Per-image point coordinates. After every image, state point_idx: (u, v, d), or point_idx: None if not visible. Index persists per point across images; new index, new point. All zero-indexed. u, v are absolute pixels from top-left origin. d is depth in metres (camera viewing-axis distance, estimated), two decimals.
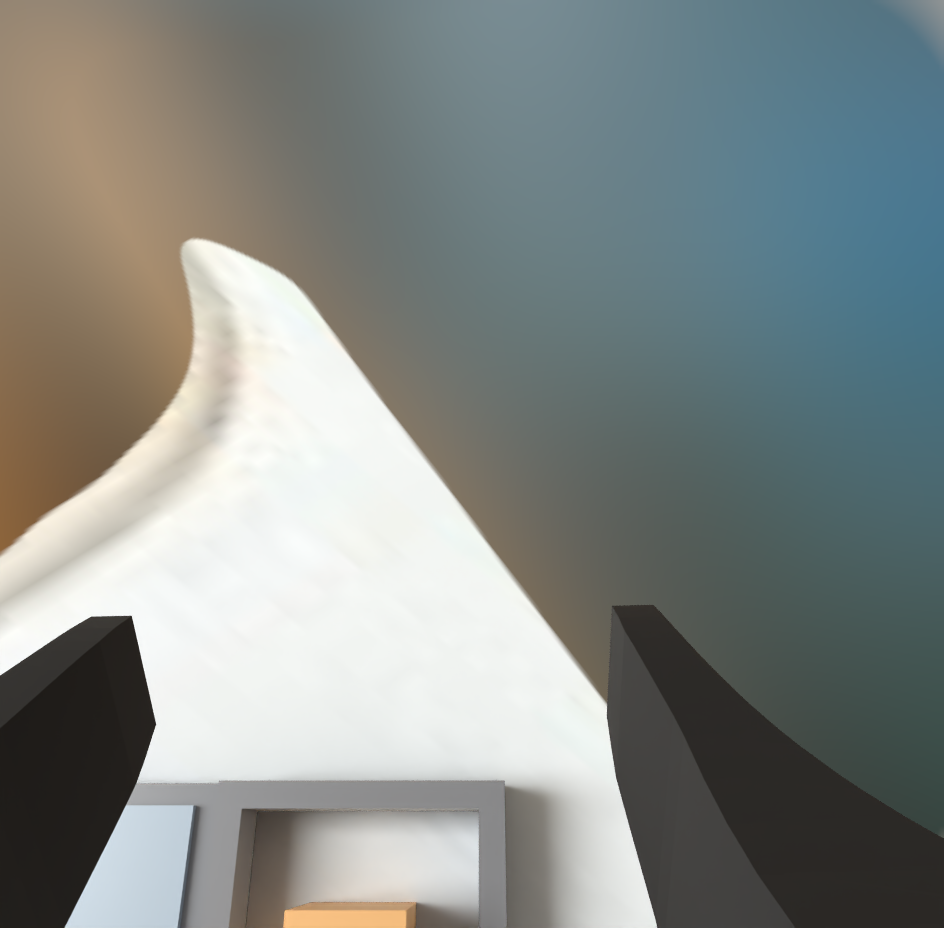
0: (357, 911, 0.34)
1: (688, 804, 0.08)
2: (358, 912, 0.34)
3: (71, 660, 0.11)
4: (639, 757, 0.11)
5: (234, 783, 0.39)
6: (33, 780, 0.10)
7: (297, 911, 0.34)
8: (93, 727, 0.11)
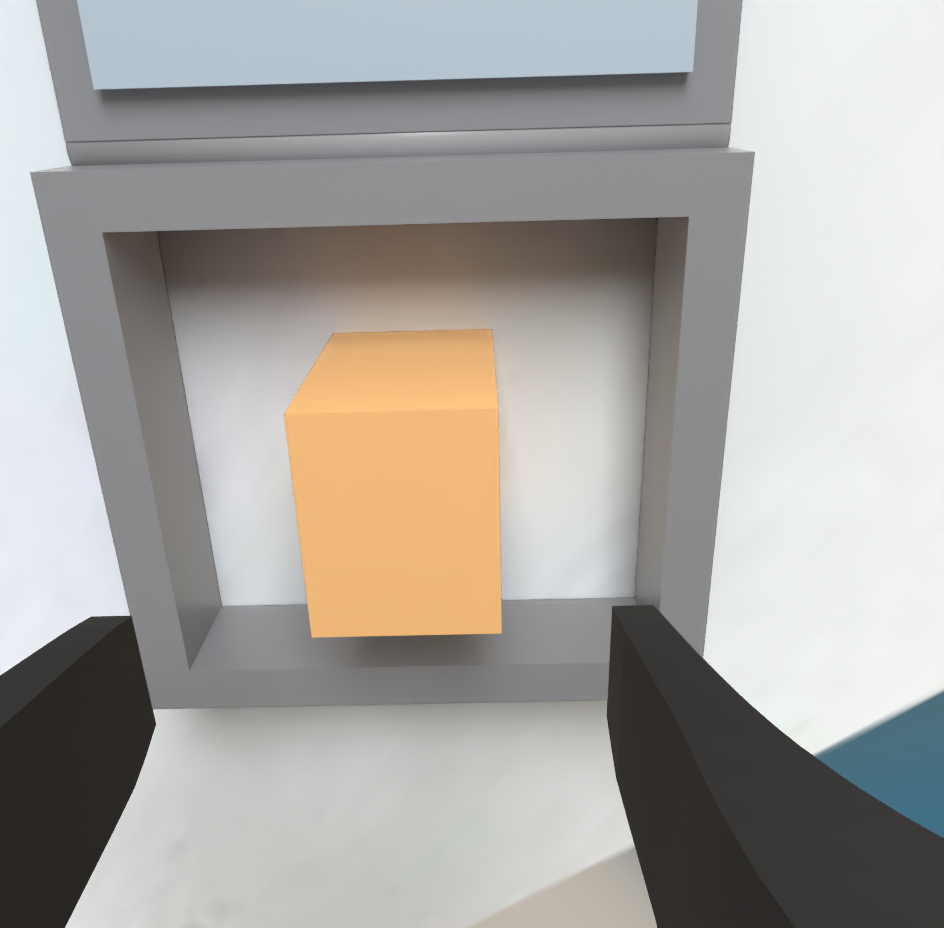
0: (498, 549, 0.17)
1: (688, 804, 0.08)
2: (497, 551, 0.17)
3: (71, 660, 0.11)
4: (639, 757, 0.11)
5: (744, 191, 0.17)
6: (33, 780, 0.10)
7: (496, 435, 0.16)
8: (93, 727, 0.11)
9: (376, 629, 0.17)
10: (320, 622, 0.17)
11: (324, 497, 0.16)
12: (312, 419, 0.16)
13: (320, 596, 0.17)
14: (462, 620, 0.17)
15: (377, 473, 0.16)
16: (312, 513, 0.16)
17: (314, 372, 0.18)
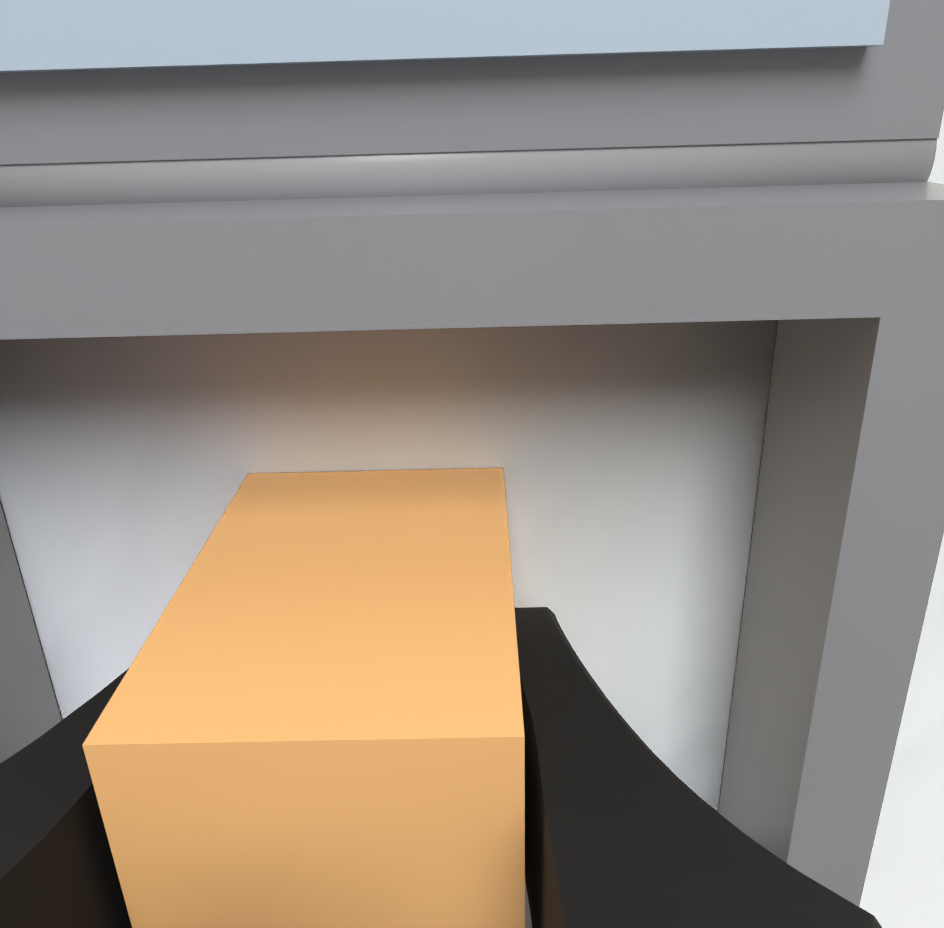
0: None
1: (538, 806, 0.09)
2: None
3: None
4: None
5: None
6: None
7: (520, 781, 0.08)
8: None
9: None
10: None
11: (180, 881, 0.08)
12: (141, 755, 0.08)
13: None
14: None
15: (281, 845, 0.08)
16: (158, 907, 0.08)
17: (186, 590, 0.10)
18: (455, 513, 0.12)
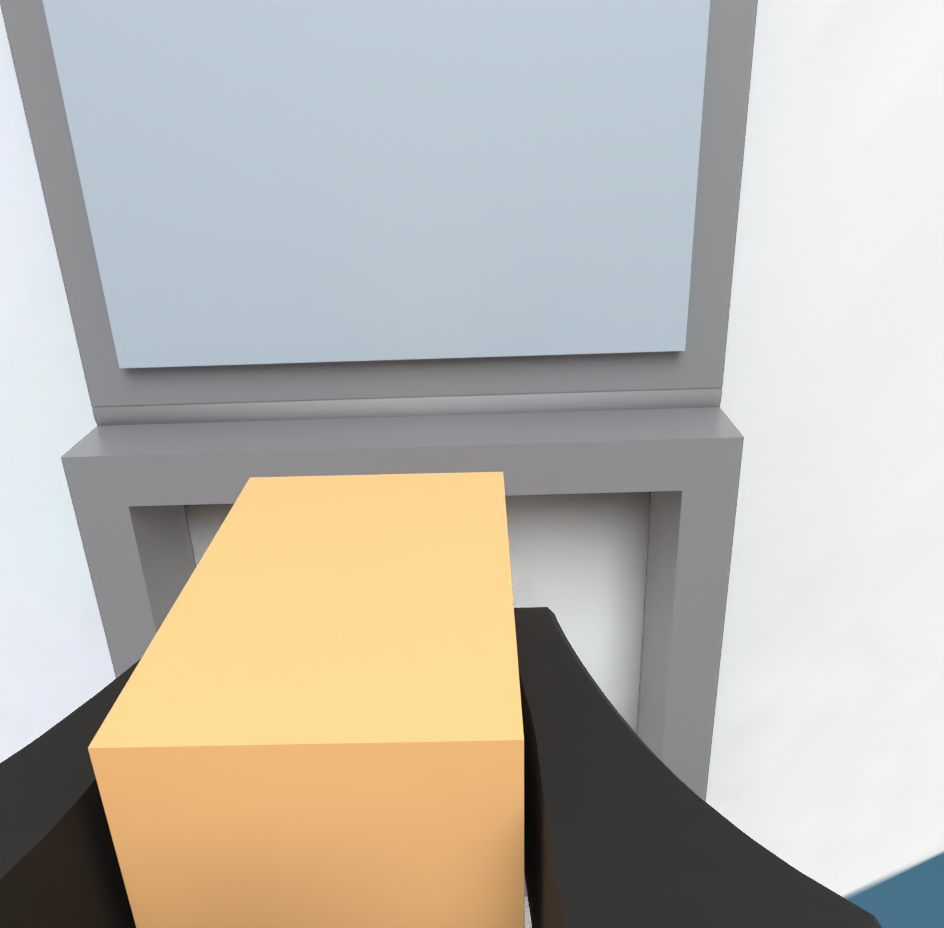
0: None
1: (538, 806, 0.09)
2: None
3: None
4: None
5: (734, 469, 0.18)
6: None
7: (519, 783, 0.08)
8: None
9: None
10: None
11: (183, 882, 0.08)
12: (146, 757, 0.08)
13: None
14: None
15: (285, 846, 0.08)
16: (161, 907, 0.08)
17: (189, 594, 0.10)
18: (455, 517, 0.12)
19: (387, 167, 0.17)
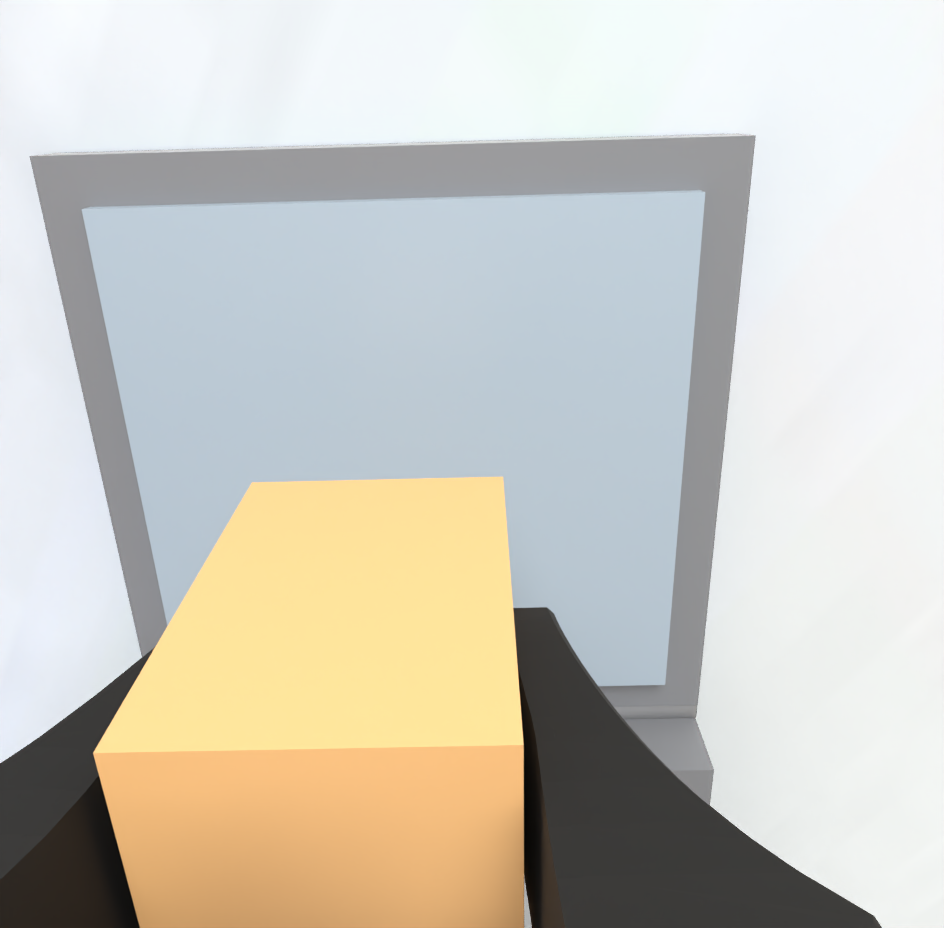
0: None
1: (538, 806, 0.09)
2: None
3: None
4: None
5: (706, 792, 0.21)
6: None
7: (519, 788, 0.08)
8: None
9: None
10: None
11: (188, 885, 0.08)
12: (150, 762, 0.08)
13: None
14: None
15: (287, 849, 0.08)
16: (166, 910, 0.09)
17: (192, 599, 0.10)
18: (456, 522, 0.12)
19: None
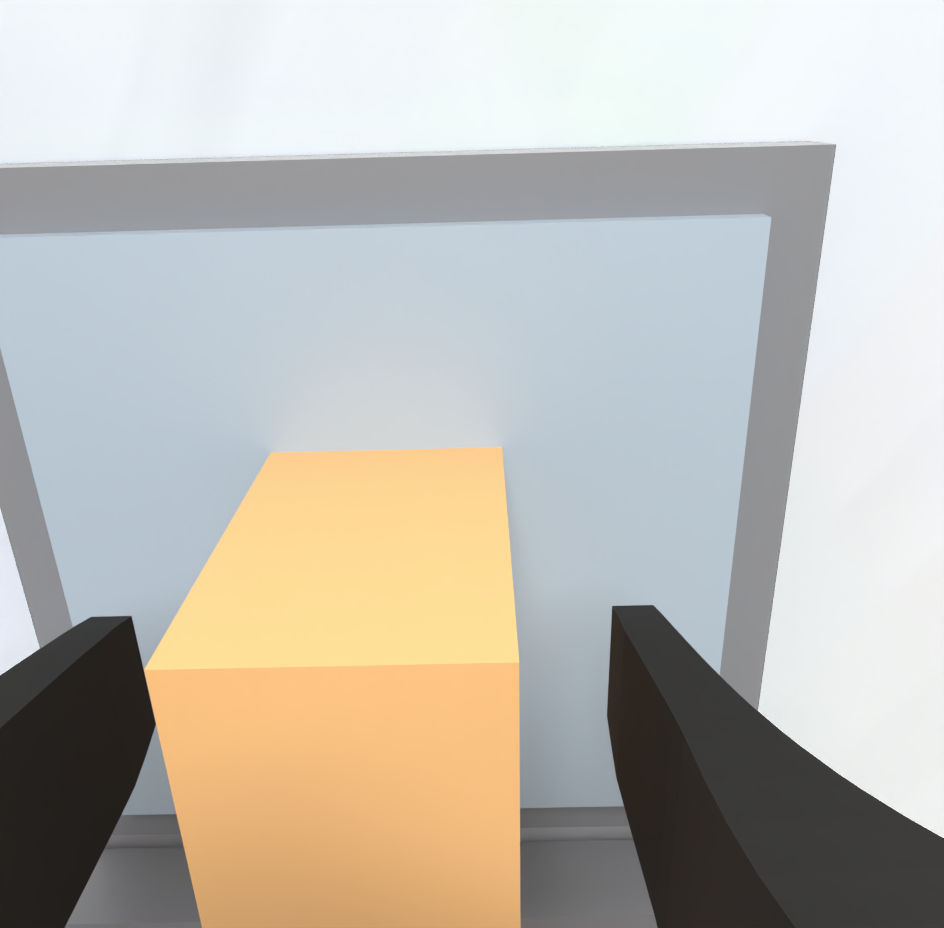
0: (516, 865, 0.10)
1: (688, 804, 0.08)
2: (515, 869, 0.10)
3: (71, 660, 0.11)
4: (639, 757, 0.11)
5: None
6: (33, 780, 0.10)
7: (516, 702, 0.09)
8: (93, 727, 0.11)
9: None
10: None
11: (223, 793, 0.10)
12: (194, 678, 0.09)
13: None
14: None
15: (312, 759, 0.09)
16: (204, 816, 0.10)
17: (222, 550, 0.11)
18: (459, 486, 0.13)
19: None
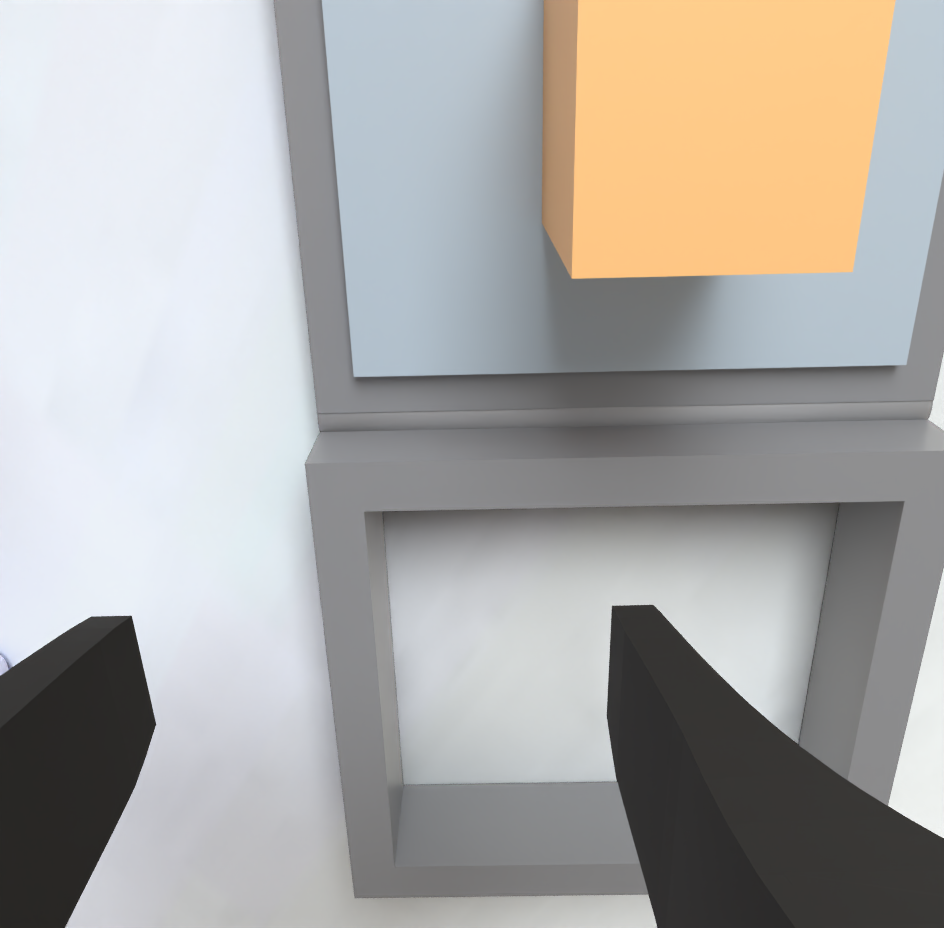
0: (873, 120, 0.11)
1: (688, 804, 0.08)
2: (871, 123, 0.11)
3: (71, 660, 0.11)
4: (639, 757, 0.11)
5: None
6: (33, 780, 0.10)
7: None
8: (93, 727, 0.11)
9: (668, 264, 0.12)
10: (588, 251, 0.12)
11: (624, 20, 0.11)
12: None
13: (594, 205, 0.11)
14: (798, 249, 0.12)
15: None
16: (602, 51, 0.11)
17: None
18: None
19: None
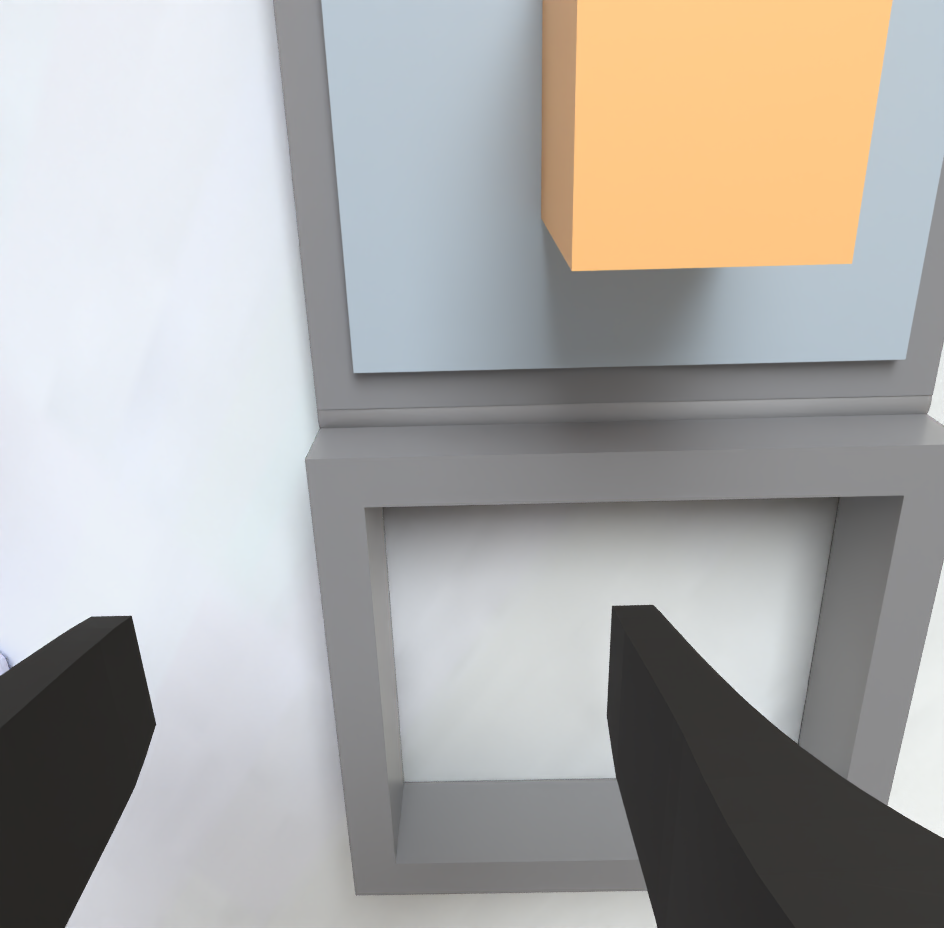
0: (871, 111, 0.11)
1: (688, 804, 0.08)
2: (870, 114, 0.11)
3: (71, 660, 0.11)
4: (639, 757, 0.11)
5: None
6: (33, 780, 0.10)
7: None
8: (93, 727, 0.11)
9: (668, 256, 0.12)
10: (588, 243, 0.12)
11: (623, 12, 0.11)
12: None
13: (593, 197, 0.12)
14: (798, 240, 0.12)
15: None
16: (601, 42, 0.11)
17: None
18: None
19: None
